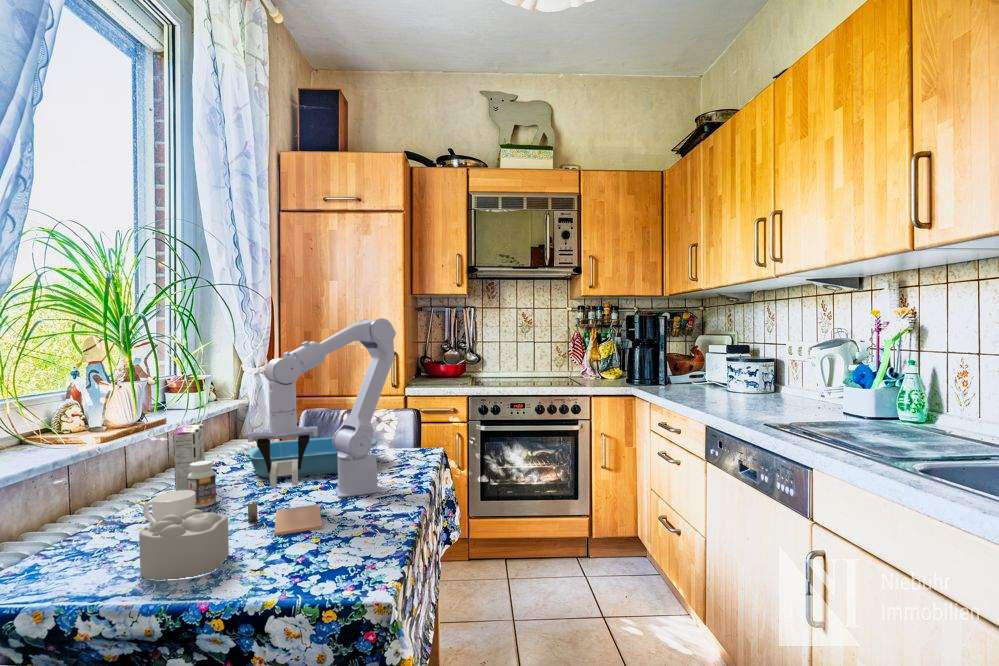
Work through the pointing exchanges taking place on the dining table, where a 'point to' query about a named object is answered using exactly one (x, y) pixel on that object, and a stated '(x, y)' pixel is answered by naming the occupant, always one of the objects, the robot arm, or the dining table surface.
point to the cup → (170, 504)
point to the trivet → (297, 519)
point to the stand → (252, 512)
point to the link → (284, 471)
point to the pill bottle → (202, 483)
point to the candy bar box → (187, 452)
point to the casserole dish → (315, 459)
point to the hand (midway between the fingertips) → (284, 470)
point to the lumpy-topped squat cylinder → (183, 545)
